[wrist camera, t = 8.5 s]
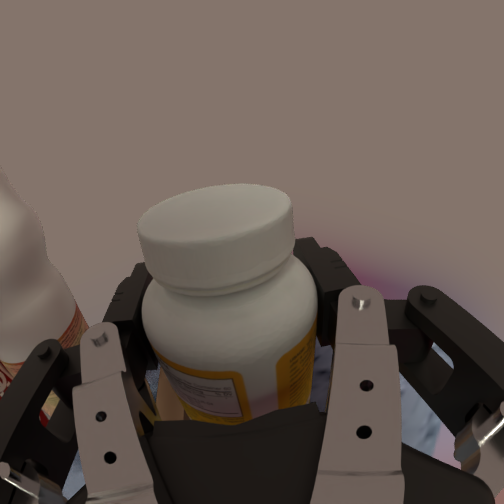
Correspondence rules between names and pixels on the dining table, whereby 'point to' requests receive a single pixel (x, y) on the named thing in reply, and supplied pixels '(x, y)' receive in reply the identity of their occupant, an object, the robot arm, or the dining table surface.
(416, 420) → the dining table surface
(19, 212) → the fruit juice
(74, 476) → the dining table surface
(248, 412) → the supplement bottle
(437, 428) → the dining table surface
